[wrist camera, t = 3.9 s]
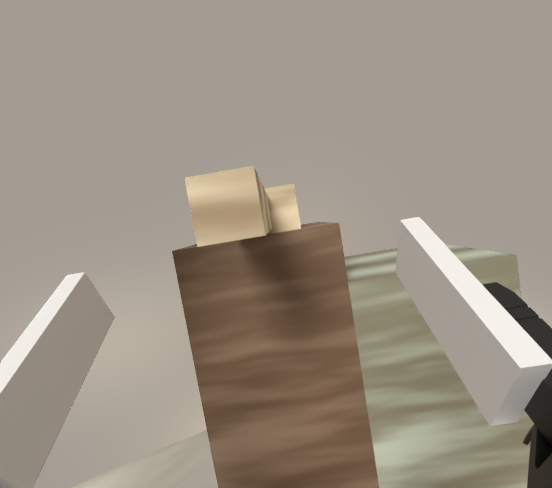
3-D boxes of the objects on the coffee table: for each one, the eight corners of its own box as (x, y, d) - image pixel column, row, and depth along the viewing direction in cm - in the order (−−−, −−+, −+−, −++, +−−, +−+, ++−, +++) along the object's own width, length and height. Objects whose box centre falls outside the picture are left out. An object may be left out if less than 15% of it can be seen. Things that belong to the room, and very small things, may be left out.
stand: (545, 521, 27) (509, 194, 25) (233, 566, 28) (172, 251, 25) (454, 418, 41) (426, 203, 39) (248, 449, 41) (210, 240, 39)
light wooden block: (324, 237, 13) (310, 143, 13) (143, 267, 13) (124, 176, 13) (295, 226, 37) (289, 193, 37) (230, 237, 37) (224, 204, 37)
